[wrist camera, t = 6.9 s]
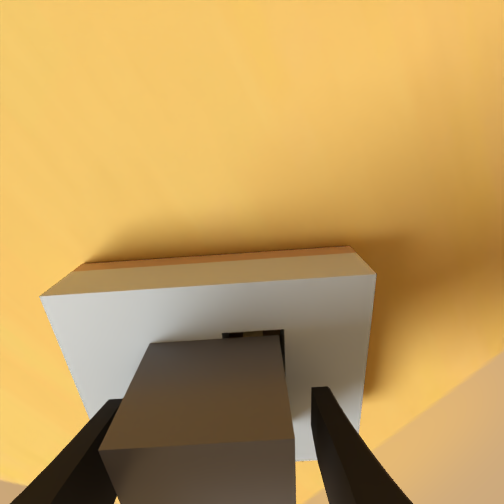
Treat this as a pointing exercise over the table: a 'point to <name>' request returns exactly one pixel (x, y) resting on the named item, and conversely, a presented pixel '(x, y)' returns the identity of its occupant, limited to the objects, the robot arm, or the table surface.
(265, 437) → the plug
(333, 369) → the socket
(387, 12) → the table surface
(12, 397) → the table surface
